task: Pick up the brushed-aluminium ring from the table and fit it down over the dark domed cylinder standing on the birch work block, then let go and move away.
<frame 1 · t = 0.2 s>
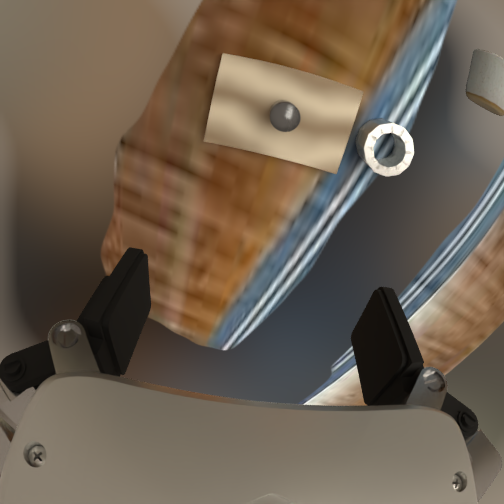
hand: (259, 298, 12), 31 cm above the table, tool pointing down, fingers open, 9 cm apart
dark domed cylinder: (284, 115, 32), on the block, point 4 cm above the table
block: (282, 111, 35), on the table
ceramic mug: (482, 82, 28), on the table
ring: (379, 143, 36), on the table
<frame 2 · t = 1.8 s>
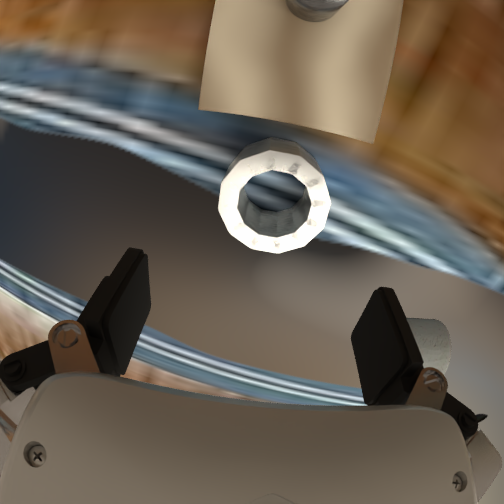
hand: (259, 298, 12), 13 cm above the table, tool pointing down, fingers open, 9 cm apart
block: (309, 5, 14), on the table
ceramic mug: (392, 333, 31), on the table
ring: (274, 183, 22), on the table
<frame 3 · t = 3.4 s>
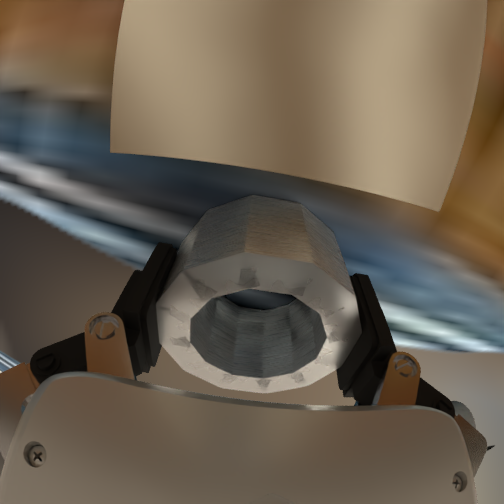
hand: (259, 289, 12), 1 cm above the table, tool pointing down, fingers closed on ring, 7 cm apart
ring: (260, 271, 13), on the table, touching gripper
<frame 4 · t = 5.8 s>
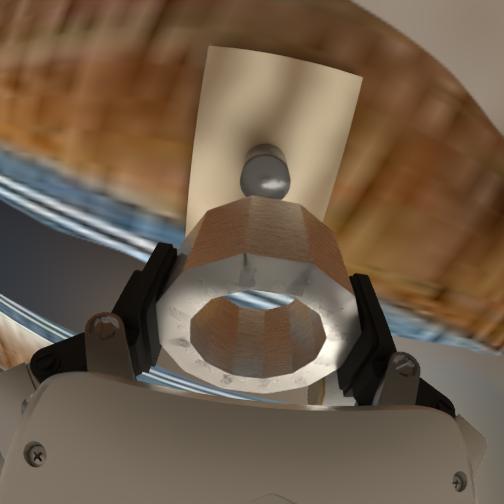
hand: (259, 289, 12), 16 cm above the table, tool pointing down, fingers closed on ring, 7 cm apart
dark domed cylinder: (265, 172, 21), on the block, point 4 cm above the table
block: (265, 159, 25), on the table
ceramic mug: (335, 375, 42), on the table
ring: (260, 271, 13), point 14 cm above the table, touching gripper
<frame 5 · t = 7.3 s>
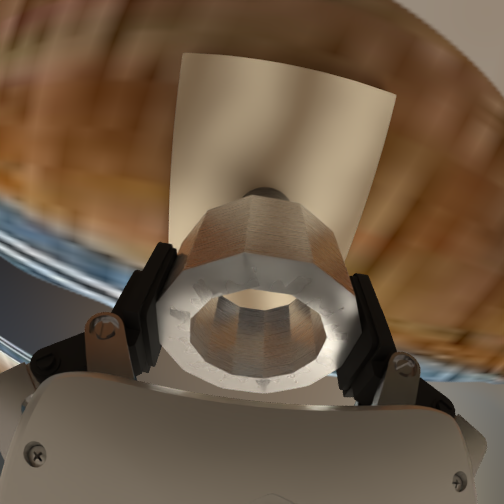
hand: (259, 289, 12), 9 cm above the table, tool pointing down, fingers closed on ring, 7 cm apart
dark domed cylinder: (264, 231, 16), on the block, point 4 cm above the table
block: (265, 203, 19), on the table
ring: (260, 271, 13), point 7 cm above the table, touching gripper
when the fingers open (4 cm above the table, at t = 8.7 s): ring drops 1 cm, resting on block.
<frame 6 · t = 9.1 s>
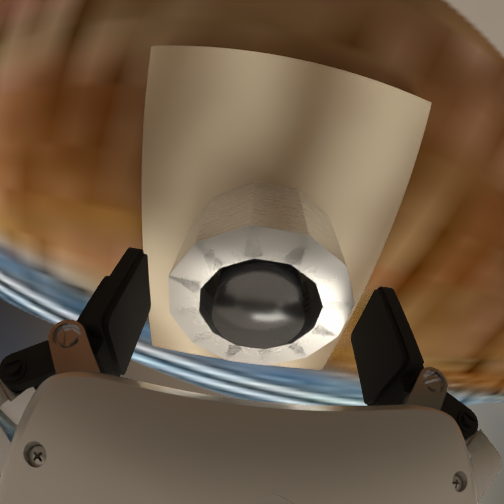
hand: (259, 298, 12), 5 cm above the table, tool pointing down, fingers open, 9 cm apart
dark domed cylinder: (260, 281, 13), on the block, point 4 cm above the table
block: (261, 236, 16), on the table
ring: (262, 252, 14), point 1 cm above the table, touching block
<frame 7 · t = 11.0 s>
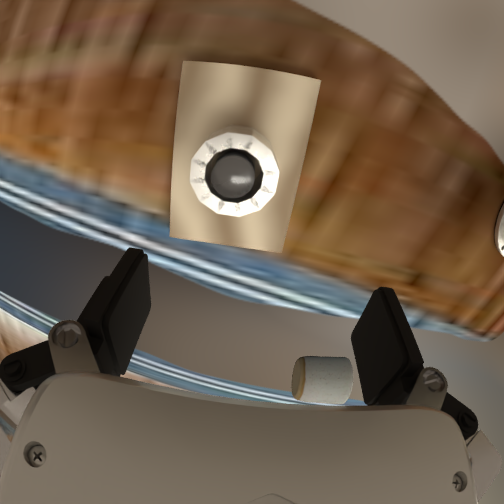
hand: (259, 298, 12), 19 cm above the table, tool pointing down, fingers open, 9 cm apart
dark domed cylinder: (234, 169, 25), on the block, point 4 cm above the table
block: (237, 158, 28), on the table
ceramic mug: (317, 364, 46), on the table
ring: (237, 162, 26), point 1 cm above the table, touching block
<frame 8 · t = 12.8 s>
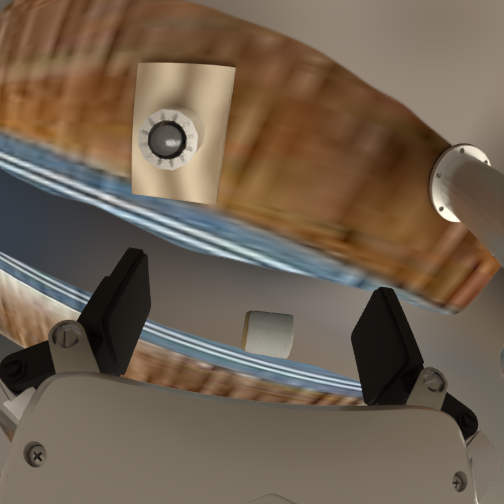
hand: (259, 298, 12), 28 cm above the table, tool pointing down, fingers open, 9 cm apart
dark domed cylinder: (171, 137, 32), on the block, point 4 cm above the table
block: (179, 131, 35), on the table
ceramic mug: (267, 322, 53), on the table
ring: (176, 133, 34), point 1 cm above the table, touching block
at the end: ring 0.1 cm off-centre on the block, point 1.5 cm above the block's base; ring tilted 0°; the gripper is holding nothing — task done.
